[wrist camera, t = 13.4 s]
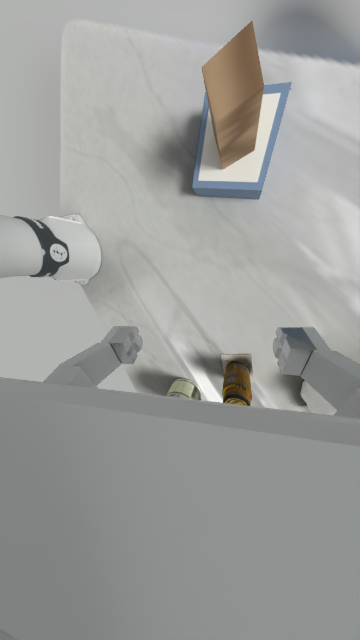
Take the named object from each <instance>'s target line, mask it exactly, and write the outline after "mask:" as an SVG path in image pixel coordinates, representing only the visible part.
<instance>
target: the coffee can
mask: <svg viewBox="0 0 360 640" xmlns="http://www.w3.org/2000/svg"><path fill="white" fill-rule="evenodd" d="M166 396H167V397H175V398H184V399H193V400H201V398H202V392H201V390H200V388H199V387H198V385H197V384H196V383H194V382H193V381H191V380H189V379H184V378H180V379H177V380H175V381H174V382H173V383H172V385H171V387H170V389H169V391H168V393H167V394H166Z"/></svg>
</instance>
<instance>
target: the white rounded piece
mask: <svg viewBox="0 0 360 640" xmlns="http://www.w3.org/2000/svg"><path fill="white" fill-rule="evenodd" d="M301 397H302V398H303V400H304V401H305V402H306V403H307V406H308V409H309V411H310V413H315V414H324V415H334V414H335V413H336V412H337V410H336V409H335V408H334V407H333V406H332V405H331V404H330V403H329V402H327V401H326V400H325V399H324V398H323V397H322V396H321V395H320V394H319V393H318V392H317V391H316V390H315V389H313V388H312V387H311V386H310V385H309V384H308V383H307V382H306V381H304V382H303V383H302V388H301Z"/></svg>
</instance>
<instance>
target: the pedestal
mask: <svg viewBox="0 0 360 640" xmlns="http://www.w3.org/2000/svg"><path fill="white" fill-rule="evenodd" d="M290 86H291V82H289V83H280V84H272V85H264V90H263V97H262V104H261V111H260V117H259V124H258V131H257V138H256V144H255V150H254V151H253V152H251V153H249V154H248V155H246V156H244V157H243V158H241V159H239V160H238V161H236V162H235V163H233V164H231V165H230V166H228V167H226V168H225V169H222V165H221V161H220V157H219V153H218V149H217V145H216V141H215V137H214V132H213V126H212V121H211V115H210V110H209V104H208V99H207V94H206V92H205V98H204V105H203V112H202V119H201V127H200V134H199V141H198V148H197V156H196V163H195V170H194V177H193V185H192V188H193V190H194V192H195V193H196V195H197V196H208V197H227V198H246V199H259V198H260V195H261V192H262V188H263V185H264V181H265V177H266V174H267V170H268V166H269V163H270V159H271V155H272V152H273V148H274V144H275V141H276V137H277V133H278V130H279V126H280V122H281V119H282V115H283V112H284V108H285V104H286V101H287V97H288V93H289V90H290Z"/></svg>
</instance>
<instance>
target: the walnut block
mask: <svg viewBox="0 0 360 640" xmlns="http://www.w3.org/2000/svg"><path fill="white" fill-rule="evenodd" d="M202 72H203V77H204V83H205V88H206V94H207V99H208V104H209V110H210V115H211V121H212V126H213V132H214V137H215V141H216V145H217V149H218V153H219V157H220V161H221V165H222V169H225V168H226V167H228V166H230V165H231V164H233V163H235V162H236V161H238V160H239V159H241V158H243V157H244V156H246V155H248V154H249V153H251V152H253V151H254V150H255V144H256V138H257V131H258V124H259V117H260V111H261V104H262V97H263V90H264V83H263V78H262V72H261V67H260V61H259V56H258V50H257V44H256V40H255V33H254V28H253V22H252V21H251V23H249V24H248V25H247V26H246V27H245V28H244V29H243V30H242V31H240V32H239V33H238V34H237V35H236V36H235V37H234V38H233V39H232V40H231V41H230V42H228V43H227V44H226V45H225V46H224V47H223V48H222V49H221V50H220V51H219V52H218V53H217V54H215V55H214V56H213V57H212V58H211V59H210V60H209V61H208V62H207V63H206V64H205V65H204V66H202Z"/></svg>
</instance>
